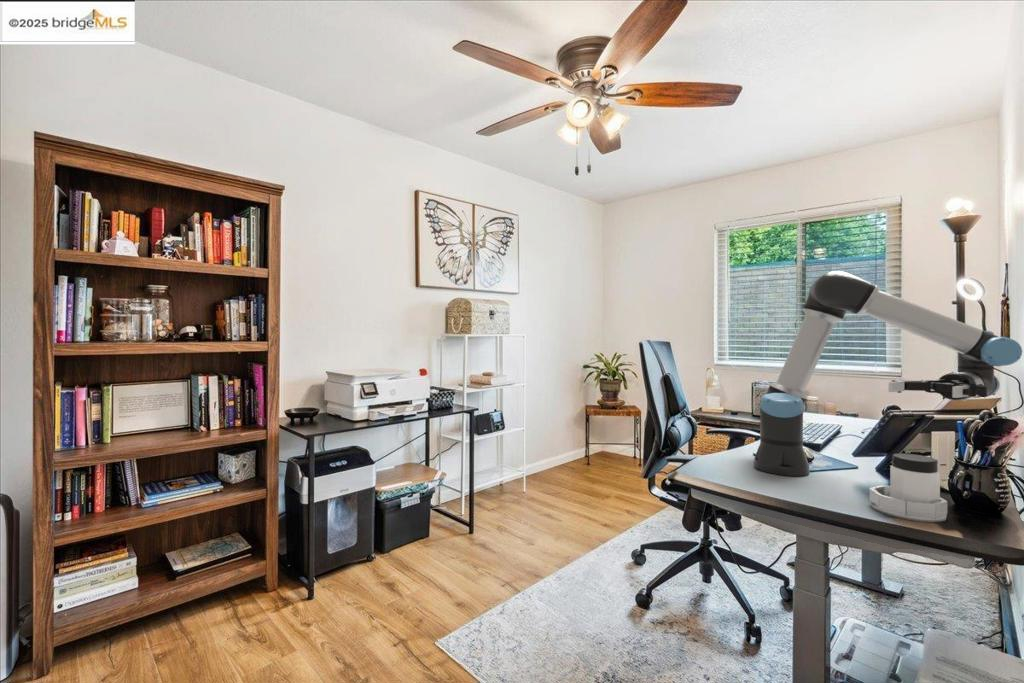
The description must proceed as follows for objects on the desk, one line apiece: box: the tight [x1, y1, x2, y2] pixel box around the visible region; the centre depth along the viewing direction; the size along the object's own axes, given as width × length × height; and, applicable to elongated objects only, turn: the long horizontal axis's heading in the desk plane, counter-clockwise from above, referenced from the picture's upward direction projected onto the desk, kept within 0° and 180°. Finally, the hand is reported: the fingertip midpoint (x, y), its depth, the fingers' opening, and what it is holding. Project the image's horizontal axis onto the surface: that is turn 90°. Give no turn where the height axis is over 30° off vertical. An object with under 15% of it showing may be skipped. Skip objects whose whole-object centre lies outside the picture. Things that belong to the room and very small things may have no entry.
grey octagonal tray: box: [869, 484, 948, 523], centre depth 111 cm, size 14×14×4 cm
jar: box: [889, 452, 941, 504], centre depth 110 cm, size 9×8×12 cm
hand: (920, 389), depth 121 cm, fingers open, 13 cm apart
